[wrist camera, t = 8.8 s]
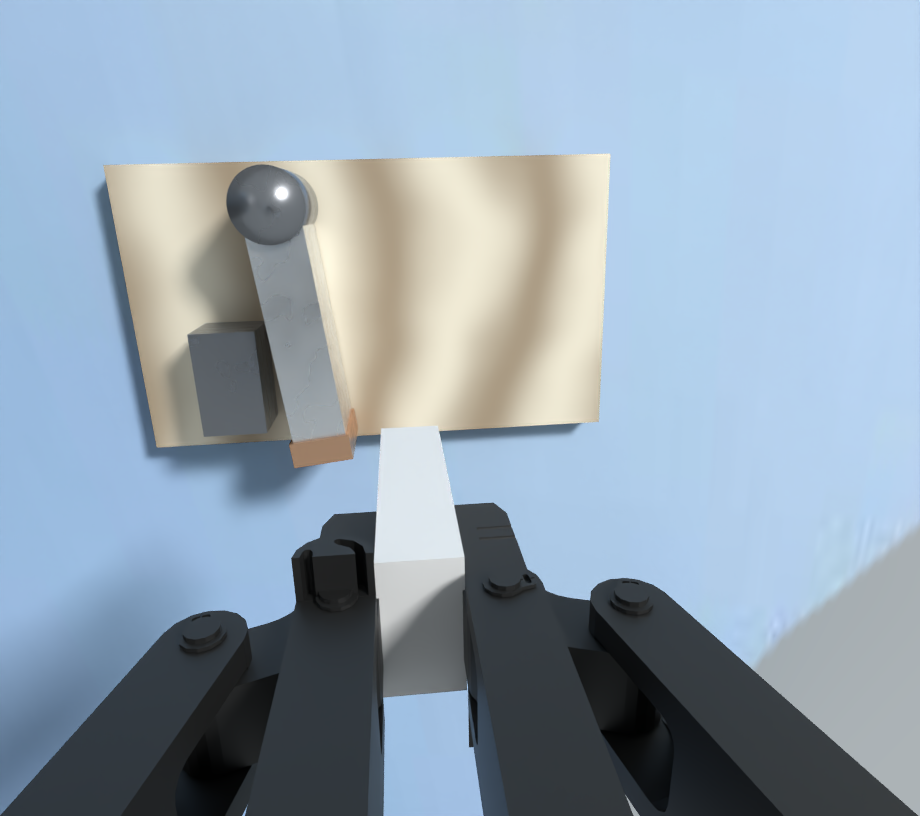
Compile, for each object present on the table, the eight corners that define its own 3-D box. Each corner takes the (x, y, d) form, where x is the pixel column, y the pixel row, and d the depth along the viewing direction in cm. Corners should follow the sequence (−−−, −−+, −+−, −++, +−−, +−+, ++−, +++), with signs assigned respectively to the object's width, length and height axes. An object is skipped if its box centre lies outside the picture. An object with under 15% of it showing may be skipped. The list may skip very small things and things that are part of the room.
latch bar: (242, 175, 30) (217, 170, 25) (310, 165, 30) (296, 159, 26) (302, 438, 34) (289, 470, 30) (361, 428, 34) (356, 459, 30)
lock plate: (166, 437, 35) (156, 447, 33) (117, 167, 30) (103, 165, 29) (590, 413, 37) (598, 421, 35) (601, 156, 32) (610, 153, 31)
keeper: (220, 417, 33) (203, 436, 30) (205, 323, 32) (187, 334, 29) (278, 413, 33) (267, 433, 31) (266, 320, 32) (254, 331, 29)
